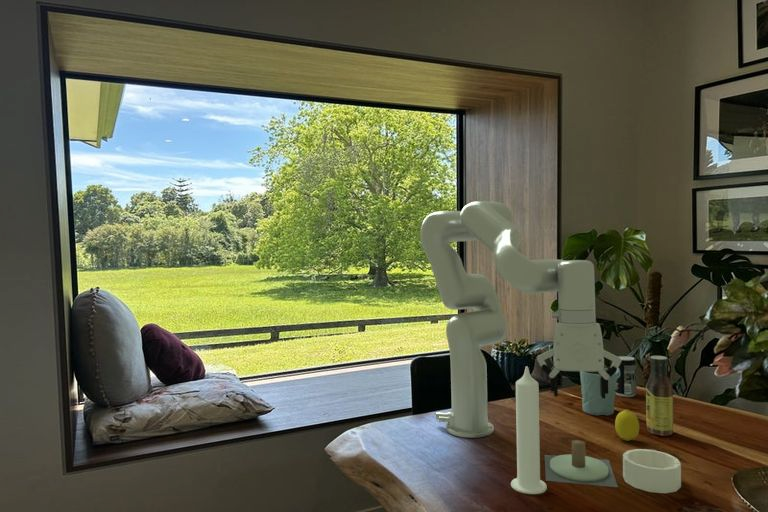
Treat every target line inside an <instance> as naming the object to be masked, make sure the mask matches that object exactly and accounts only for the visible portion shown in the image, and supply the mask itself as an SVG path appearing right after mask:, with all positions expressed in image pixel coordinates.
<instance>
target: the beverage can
mask: <svg viewBox="0 0 768 512" xmlns="http://www.w3.org/2000/svg"><path fill="white" fill-rule="evenodd" d="M616 356H617V355H616ZM617 357H619V358H620V359H621V360H622V361H621V363H620V365H619V367H618V369H617V371H616V372H617V381H616V388H615V396H618V397H622V398H633V397H635V395H636V396H637V393H638V392H637V390H638V389H637V388H638V387H637V362H636V361H637V360H636V358H635V357H633V356H627V355H626V356H625V355H618V356H617Z"/></svg>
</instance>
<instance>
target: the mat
mask: <svg viewBox="0 0 768 512" xmlns="http://www.w3.org/2000/svg"><path fill="white" fill-rule="evenodd" d="M556 456H557V455H553V454H544V470H545V471H544V472H545V482H555V483H564V484H565V483H566V484H576V485H577V484H578V485H585V486H586V485H587V486H599V487H608V488H609V487H610V488H619V486H618V485H619V484H618V483H617V480H616V477H615V475H614V472H613V471H614V470H613V468H612V466H611V463H610V460H609V459H603V458H597V459H598V460H600V461H602V462H603V463H605V464H606V465H607V467H608V476H607V477H606V478H605V479H603V480H600V481H595V482H580V481H573V480H569V479H565V478H563V477H560V476H558V475H556V474H555V473H553V472H552V471H551V469H550V460H551V459H552V458H554V457H556Z"/></svg>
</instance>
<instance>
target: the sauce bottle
mask: <svg viewBox="0 0 768 512" xmlns="http://www.w3.org/2000/svg"><path fill="white" fill-rule="evenodd" d="M649 358H650V359H649V362H650V373H649V377H648V380H647V383H646V385H645V408H646V409H645V412H646V415H645V418H646V420H645V421H646V424H645V425H646V428H647V429H646V430H647V431H648V433H649V434H651V435H652V434H653V435H655V436H662V437H668V436H671V435H672V434H673V433H674V393H673V383H672V381H671V380H670V377H669V376H668V363H669V362H668V361H669V358H668V357H667V356H663V355H651V356H650V357H649Z"/></svg>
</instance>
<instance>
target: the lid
mask: <svg viewBox="0 0 768 512" xmlns="http://www.w3.org/2000/svg"><path fill="white" fill-rule="evenodd" d="M555 456H556V457H554V458H552V459H551V460H550V469H551V471H552V472H553V473H555V474H556V475H558V476H560V477H563V478H565V479H569V480H573V481H580V482H595V481H600V480H603V479H605V478H606V477H607V476H608V467H607V465H606V464H605V463H603V462H602V461H600V460H598V459H599V458H594V457H591V456H587V455H586V442H585V441H583V440H579V439H578V440H577V439H575V440H571V454H570V453H569V454H560V455H555Z"/></svg>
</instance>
